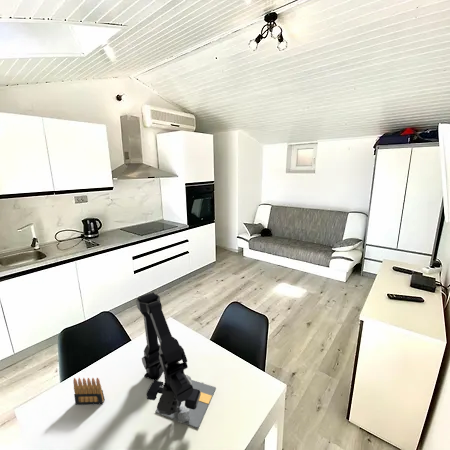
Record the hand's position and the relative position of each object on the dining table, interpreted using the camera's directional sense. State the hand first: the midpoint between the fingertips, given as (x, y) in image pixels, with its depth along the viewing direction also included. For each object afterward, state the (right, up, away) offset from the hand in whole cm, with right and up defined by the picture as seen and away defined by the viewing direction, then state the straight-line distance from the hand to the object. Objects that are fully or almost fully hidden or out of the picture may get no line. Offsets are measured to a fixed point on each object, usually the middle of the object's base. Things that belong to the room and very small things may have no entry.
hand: (174, 411), depth 91 cm
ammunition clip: (-35, -2, +7) cm, 36 cm away
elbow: (+2, 0, +6) cm, 6 cm away
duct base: (+4, -1, +7) cm, 8 cm away
